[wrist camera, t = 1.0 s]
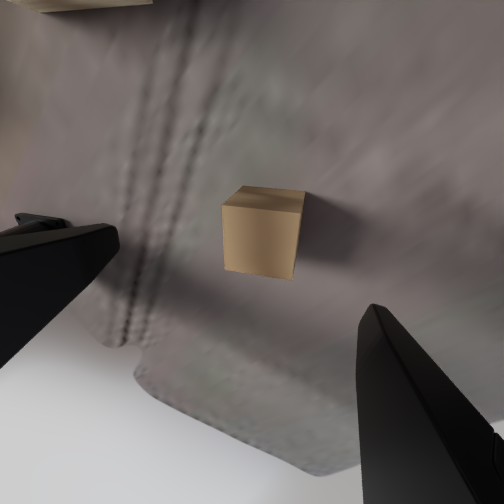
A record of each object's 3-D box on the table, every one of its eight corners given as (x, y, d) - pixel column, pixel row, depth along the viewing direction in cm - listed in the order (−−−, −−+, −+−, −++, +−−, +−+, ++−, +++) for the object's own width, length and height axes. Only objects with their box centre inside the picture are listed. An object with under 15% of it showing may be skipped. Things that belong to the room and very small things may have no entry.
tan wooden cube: (243, 240, 22) (224, 269, 18) (243, 185, 20) (221, 205, 15) (297, 247, 21) (292, 280, 17) (305, 190, 19) (300, 213, 14)
